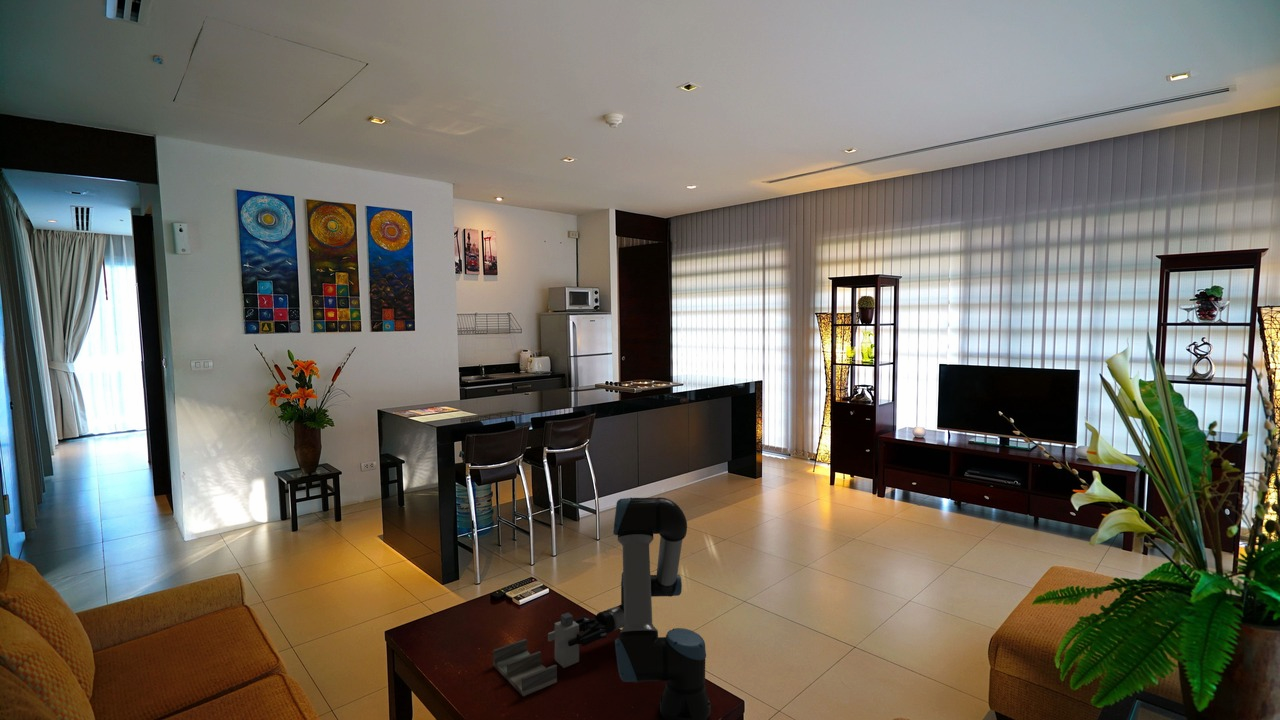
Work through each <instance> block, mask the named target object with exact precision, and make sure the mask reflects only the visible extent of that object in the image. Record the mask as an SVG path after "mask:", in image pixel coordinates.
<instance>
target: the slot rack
mask: <svg viewBox="0 0 1280 720" xmlns="http://www.w3.org/2000/svg"><path fill="white" fill-rule="evenodd" d="M492 656H493V661H492V662H493V663H492V665H493V667H494V668H495V669H496V670H497V671H498V673H500V674H501V675H502V676H503V677H504V678H505V679H506V680H507V681H508V683H509V684H510V685H511V686H513V688H514V689H515V690H516V691H517V692H518V693H519V694H520V695H521V696H522V697H526V696H528V695H530V694H533V693H536V692H537V691H539V690H542V689H544V688H547V687H549V686H551V685H553V684H554V685H555V684H557V682H558V665H557V664H553V665H550V666H548V667H546V666H545V665H543V664H542V652H541V651H540V650H539V651H536V652H533V653H530V652H529V651H528V639H527V638H524V639H520V640H517V641H515V642H512V643H509V644H507V645H504V646H501V647H498V648H495V649H493V655H492Z"/></svg>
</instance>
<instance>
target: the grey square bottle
mask: <svg viewBox="0 0 1280 720" xmlns="http://www.w3.org/2000/svg"><path fill="white" fill-rule="evenodd" d="M573 620H574V615H572V614H571V613H570V612H566V613H561V614H560V621H558V622H557V621H556V622H554V631H555V640H554V661H555V662H556V663H558V665H560V666H561V667H562V668H563V669H565V668H567V667H570V666H572V665H574V664H576V663H579V661H580V644H575V645H573V646H569V647H567V648H564V649H562V650H559V649H558V641H561V640H563V639H566V638H569V637H572V636H574V635H575V636H576V638H577V634H579V635H580V631H579V624H577V623H576V622H575V621H573Z"/></svg>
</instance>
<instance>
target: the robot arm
mask: <svg viewBox="0 0 1280 720" xmlns="http://www.w3.org/2000/svg"><path fill="white" fill-rule="evenodd" d="M614 514H615V515H614V522H613V531H612V532H613V533H612V534H613V535H615V536H617V541H618V543H620V545H622V573H621V579H620V580H621V581H620V597H621V598H620V604H619V605H617V606H614V607H611V608H607V610H606V609H605V610H602V611H600V612H598V613H597V614H596V615H595V617H590V618H587V615H583V616H581V617H579V618H575V619H573V621H575V622H576V623H577V624H579V632H581V633H579V634H577V638H576V636H575V635H574V636H572V637H569V638H566V639H563V640H561V641H558V649H559V650H562V649H564V648H567V647H569V646H573V645H575V644H579V645H581V646H582V647H585V646H587V645H589V644H591V643H594V642H596V641H599V640H601V639H606V638H607V635H608V634H610V633H613V632H615V631H617V630H620V631H619V637H617V638H615V640H614V646H615V647H614V648H615V656H616V657H615V658H616V665H617V669H618V675H619V678H620V680H621V681H622V682H624V683H625V682H626V683H635V684H636V683H643V682H645V683H647V682H664V681H665V686H664V688H663V692H662V696H661V697H660V700H659V714H660V716H661V717H662V718H663V720H707V719H709V718H710V716H711V701H710V699H709V695H708V692H707V689H706V657H707V652H706V650H707V649H706V643H705V640H704V637H702V636H701V635H700V634H699V633H697V632H695V631H694V630H692V629H687V628H682V627H676V628H672V629H669V630H668V631H667V632H666V634H665V636H661V637H659V631H658V629H657V628H656V627H655V626H654V624H653V606H652V603H653V602H652V598H654V597H657V598H658V597H670V598H671V597H677V596H680V595H681V594H682V591H683V590H682V587H683V584H682V577H681V575H680V574H678V572H679V567H680V560H681V559H680V557H681V551H682V544H683V540H684V539H685V537H686V536H687V531H688V523H687V522H688V521H687V518H686V516H685V513H684V511H683V510H682V508H680V506H679V505H678V504H677V503H676V502H674V501H672V500H671V499H670V498H666V497H660V496H659V497H626V498H625V497H624V498H619V499H618V500H617V502H616V505H615V513H614ZM654 535H659V536H660V539H659V549H658V559H657V567H656V574H651V561H650V559H651V558H650V544H651V543H652V542H653V541H654ZM547 641H548V642H553V641H555V630H553V631H551V632H548V633H547ZM709 715H710V716H709ZM708 717H709V718H708Z"/></svg>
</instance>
